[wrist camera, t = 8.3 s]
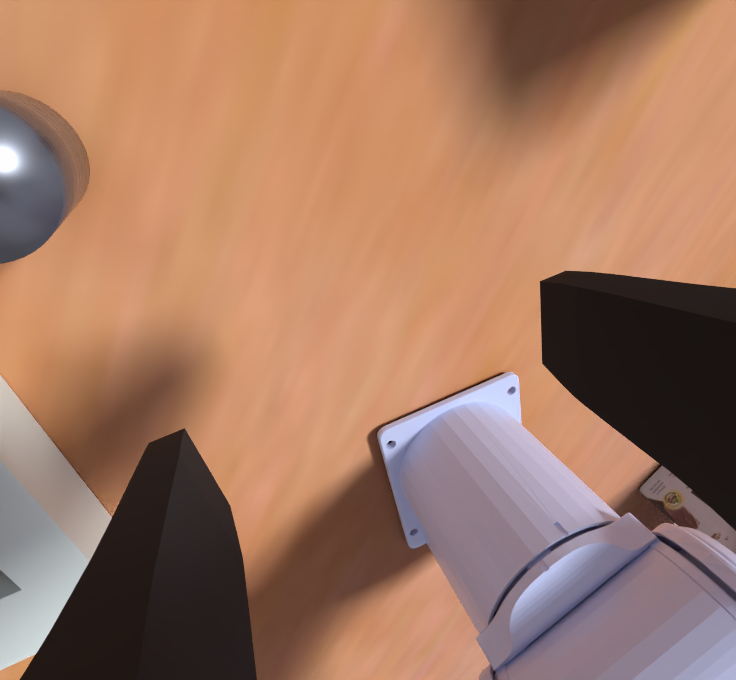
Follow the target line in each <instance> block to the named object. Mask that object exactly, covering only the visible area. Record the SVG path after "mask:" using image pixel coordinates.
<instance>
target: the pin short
mask: <svg viewBox="0 0 736 680" xmlns="http://www.w3.org/2000/svg"><path fill="white" fill-rule="evenodd" d="M89 176H90V167H89V161H88V156H87V153H86V150H85V148H84V145H83V143H82V141H81V140H80V138H79V136H78V134H77V133H76V132H75V130H74V129H73V128H72V126H71V125H70V124H69V123H68V122H67V121H66V120H65V119H64V118H63V117H62V116H61V115H59V114H58V113H57V112H56V111H54V110H53V109H52V108H50V107H49V106H47V105H45V104H44V103H42V102H40V101H38V100H36V99H34V98H32V97H29V96H26V95H23V94H20V93H15V92H11V91H1V90H0V264H1V263H6V262H11V261H15V260H17V259H20V258H23V257H25V256H27V255H29V254H31V253H32V252H34V251H36V250H37V249H38V248H40V247H41V246H42V245H43V244H44V243H45V242H46V241H47V240H48V239H49V238H50V237H51V236H52V234H53V233H54V232H55V231H56V230H57V228H58V227H59V226H60V225H61V224H62V222H63V221H64V220H65V219H66V217H67V216H68V215H69V214H70V213H71V211H72V210H73V209H74V208H75V207H76V205H77V204H78V203H79V202H80V200H81V199H82V197H83V196H84V194H85V192H86V190H87V186H88V183H89Z"/></svg>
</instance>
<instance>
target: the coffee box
mask: <svg viewBox="0 0 736 680" xmlns="http://www.w3.org/2000/svg"><path fill="white" fill-rule="evenodd" d="M640 492H641V493H642V494H643V495H644V496H645V497H646V498H648V499H649V500H650V501H651V502H652V503H653V504H654V505H655V506H657V507H658V508H659V509H660V510H661V511H662V512H663V513H664V514H666V515H667V516H668V517H669V518H670V519H671V520H673V521H674V522H675V523H676V524H677V525H678V526H681V527H688V528H693V529H696V530H698V531H700V532H702V533H704V534H706V535H708V536H709V537H711V538H713V539H714V540H716V541H717V542H719V543H720V544H722V545H723V546H725V547H726V548H728V549H729V550H730V551H732V552H733V553H734V554H736V531H735V530H734V529H733V528H732V527H731V526H730V525H729V524H728V523H727V522H725V521H724V520H723V519H722V518H721V517H720V516H719V515H718V514H717V513H716V512H715V511H714V510H713V509H712V508H711V507H710V506H708V505H707V504H706V503H705V502H704V501H703V500H702V499H701V498H700V497H699V496H698V495H697V494H696V493H695V492H694V491H692V490H691V489H690V488H689V487H688V486H687V485H685V484H684V483H683V482H682V481H681V480H679V479H678V478H677V477H676V476H675V475H673V474H672V473H671V472H670V471H669V470H667V469H666V468H665V467H663V466H661V467H660V468H659V469H658V470H657V471H656V472H655V473H654V474H653V475H652V476H651V477H650V478H649V479H648V480H647V481H646V482H645V483H644V484H643V485H642V486H641V487H640Z"/></svg>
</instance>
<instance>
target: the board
mask: <svg viewBox="0 0 736 680" xmlns="http://www.w3.org/2000/svg"><path fill="white" fill-rule="evenodd" d="M111 519H112V517H111V516H110V514H109V513H108V512H107V511H106V509H105V508H104V507H103V506H102V504H101V503H100V502H99V500H98V499H97V498H96V497H95V495H94V494H93V493H92V491H91V490H90V489H89V488H88V486H87V485H86V484H85V483H84V481H83V480H82V479H81V477H80V476H79V475H78V474H77V472H76V471H75V470H74V468H73V467H72V466H71V465H70V463H69V462H68V461H67V459H66V458H65V457H64V456H63V454H62V453H61V452H60V451H59V449H58V448H57V447H56V445H55V444H54V443H53V442H52V440H51V439H50V438H49V436H48V435H47V434H46V433H45V431H44V430H43V429H42V428H41V426H40V425H39V424H38V422H37V421H36V420H35V419H34V417H33V416H32V415H31V413H30V412H29V411H28V410H27V408H26V407H25V406H24V404H23V403H22V402H21V401H20V399H19V398H18V397H17V396H16V394H15V393H14V392H13V390H12V389H11V388H10V387H9V385H8V384H7V383H6V381H5V380H4V379H3V378H2V376H1V375H0V670H2V669H4V668H7V667H9V666H11V665H13V664H15V663H17V662H19V661H22V660H24V659H26V658H28V657H30V656H32V655H34V654H36V653H37V652H38V650H39V648H40V647H41V645H42V643H43V642H44V640H45V639H46V637H47V635H48V634H49V632H50V630H51V629H52V627H53V625H54V623H55V622H56V620H57V618H58V616H59V615H60V613H61V611H62V609H63V607H64V606H65V604H66V602H67V600H68V599H69V597H70V595H71V593H72V592H73V590H74V588H75V586H76V584H77V583H78V581H79V579H80V577H81V576H82V574H83V572H84V570H85V569H86V567H87V565H88V563H89V561H90V560H91V558H92V556H93V554H94V552H95V550H96V548H97V546H98V544H99V542H100V540H101V538H102V536H103V534H104V533H105V531H106V529H107V527H108V525H109V523H110V521H111Z"/></svg>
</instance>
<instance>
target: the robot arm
mask: <svg viewBox="0 0 736 680" xmlns="http://www.w3.org/2000/svg"><path fill="white" fill-rule="evenodd" d="M540 297H541V332H542V363H543V365H544V366H545V367H546V368H547V369H548V370H549V371H550V372H551V373H552V374H553V375H554V376H555V377H556V379H557V380H558V381H559V382H560V383H561V384H562V385H563V386H564V387H565V388H566V389H567V390H568V391H569V392H570V393H571V394H572V395H573V396H574V397H575V398H577V399H578V400H579V401H580V402H581V403H583V404H584V405H585V406H586V407H588V408H589V409H590V410H591V411H593V412H594V413H595V414H596V415H598V416H599V417H600V418H601V419H603V420H604V421H605V422H607V423H608V424H609V425H610V426H612V427H613V428H614V429H616V430H617V431H618V432H619V433H621V434H622V435H623V436H625V437H626V438H627V439H628V440H630V441H631V442H632V443H634V444H635V445H636V446H638V447H639V448H640V449H641V450H643V451H644V452H645V453H647V454H648V455H649V456H650V457H652V458H653V459H654V460H656V461H657V462H658V463H659V464H661V465H662V466H663V467H665V468H666V469H667V470H669V471H670V472H671V473H672V474H673V475H675V476H676V477H677V478H678V479H679V480H681V481H682V482H683V483H684V484H685V485H687V486H688V487H689V488H690V489H691V490H692V491H694V492H695V493H696V494H697V495H698V496H699V497H700V498H701V499H702V500H703V501H704V502H705V503H706V504H707V505H708V506H710V507H711V508H712V509H713V510H714V511H715V512H716V513H717V514H718V515H719V516H720V517H721V518H722V519H723V520H724V521H725V522H727V523H728V524H729V525H730V526H731V527H732V528H733V529H734V530H735V531H736V288H726V287H716V286H707V285H698V284H689V283H681V282H673V281H664V280H656V279H648V278H640V277H632V276H624V275H615V274H606V273H596V272H582V271H564V272H562V273H559V274H557V275H555V276H552V277H550V278H547V279H545V280H542V281H540ZM509 388H510V389H509ZM377 438H378V442H379V445H380V449H381V452H382V456H383V460H384V463H385V467H386V470H387V474H388V477H389V481H390V485H391V488H392V492H393V495H394V499H395V502H396V506H397V509H398V513H399V517H400V520H401V524H402V527H403V531H404V534H405V538H406V542H407V544H408V545H409V547H410V548H412V549H414V548H418V547H420V546H422V545H424V544H426V543H427V545H428V546H429V548H430V550H431V552H432V553H433V555H434V557H435V559H436V560H437V562H438V564H439V565H440V567H441V569H442V571H443V572H444V574H445V576H446V578H447V579H448V581H449V583H450V585H451V586H452V588H453V590H454V591H455V593H456V595H457V597H458V598H459V600H460V602H461V604H462V605H463V607H464V609H465V611H466V612H467V614H468V616H469V617H470V619H471V621H472V623H473V624H474V626H475V627H476V629H477V630H478V632H479V633H480V634H479V635H478V636H477V641H478V643H479V645H480V647H481V648H482V650H483V652H484V654H485V655H486V657H487V659H488V661H489V662H490V665H489V666H487V667H486V668H485V669H484V670H483V671H482V672H481V674H480V676H479V680H736V554H734V553H733V552H732V551H730V550H729V549H728V548H726V547H725V546H723V545H722V544H720V543H719V542H717V541H716V540H714V539H713V538H711V537H709V536H708V535H706V534H704V533H702V532H700V531H698V530H696V529H693V528H688V527H681V526H676V525H674V524H670V523H663V524H660V525H659V526H657V527H656V528H655V529H654V530H653V531H650V530H649V529H648V528H646V527H645V526H644V525H643V524H642V523H641V522H640V521H639V520H638V519H637V518H635V517H634V516H633V515H632V514H631V513H626V514H625V515H623V516H622V517H620V516H619V515H618V514H617V513H616V512H614V511H613V510H612V509H611V508H610V507H609V506H608V505H607V504H606V503H605V502H604V501H603V500H602V499H600V498H599V497H598V496H597V495H596V494H595V493H594V492H593V491H592V490H591V489H590V488H589V487H588V486H587V485H585V484H584V483H583V482H582V481H581V480H580V479H579V478H578V477H577V476H576V475H575V474H574V473H573V472H572V471H570V470H569V469H568V468H567V467H566V466H565V465H564V464H563V463H562V462H561V461H560V460H559V459H558V458H557V457H555V456H554V455H553V454H552V453H551V452H550V451H549V450H548V449H547V448H546V447H545V446H544V445H543V444H541V443H540V442H539V441H538V440H537V439H536V438H535V437H534V436H533V435H532V434H531V433H530V432H529V431H528V430H526V429H525V428H524V427H523V426H522V425H521V409H520V392H519V379H518V376H517V375H515V374H514V373H513V372H507V373H504V374H502V375H500V376H497V377H495V378H493V379H491V380H488V381H486V382H484V383H481V384H479V385H477V386H475V387H472V388H470V389H468V390H465V391H463V392H461V393H459V394H456V395H454V396H452V397H450V398H447V399H445V400H443V401H440V402H438V403H436V404H434V405H431V406H429V407H427V408H424V409H422V410H420V411H418V412H415V413H413V414H411V415H408V416H406V417H404V418H402V419H399V420H397V421H395V422H392V423H390V424H388V425H386V426H384V427H382V428H381V429H380V430H379V431H378V434H377ZM389 441H392V442H391V443H390V444H387V443H388V442H389ZM20 680H257V678H256V669H255V660H254V651H253V642H252V633H251V624H250V616H249V607H248V598H247V589H246V581H245V572H244V565H243V557H242V553H241V548H240V544H239V540H238V536H237V531H236V527H235V523H234V519H233V516H232V512H231V508H230V505H229V503H228V501H227V500H226V498H225V496H224V494H223V493H222V491H221V489H220V488H219V486H218V484H217V483H216V481H215V479H214V477H213V476H212V474H211V472H210V471H209V469H208V467H207V466H206V464H205V462H204V460H203V459H202V457H201V455H200V454H199V452H198V450H197V449H196V447H195V445H194V443H193V442H192V440H191V438H190V437H189V435H188V433H187V432H186V430H185V428H184V429H182V430H179V431H177V432H175V433H172V434H170V435H167V436H165V437H162V438H160V439H158V440H155V441H153V442H150V443H149V444H148V446H147V448H146V450H145V451H144V453H143V456H142V458H141V460H140V462H139V464H138V466H137V468H136V470H135V472H134V474H133V476H132V478H131V480H130V482H129V484H128V486H127V488H126V490H125V492H124V494H123V496H122V499H121V501H120V503H119V505H118V507H117V509H116V511H115V513H114V515H113V517H112V519H111V521H110V523H109V525H108V527H107V529H106V531H105V533H104V534H103V536H102V538H101V540H100V542H99V544H98V546H97V548H96V550H95V552H94V554H93V556H92V558H91V560H90V561H89V563H88V565H87V567H86V569H85V570H84V572H83V574H82V576H81V577H80V579H79V581H78V583H77V584H76V586H75V588H74V590H73V592H72V593H71V595H70V597H69V599H68V600H67V602H66V604H65V606H64V607H63V609H62V611H61V613H60V615H59V616H58V618H57V620H56V622H55V623H54V625H53V627H52V629H51V630H50V632H49V634H48V635H47V637H46V639H45V640H44V642H43V643H42V645H41V647H40V648H39V650H38V652H37V653H36V655H35V656H34V658H33V660H32V661H31V663H30V664H29V666H28V668H27V669H26V671H25V672H24V674H23V675H22V677H21V679H20Z"/></svg>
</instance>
